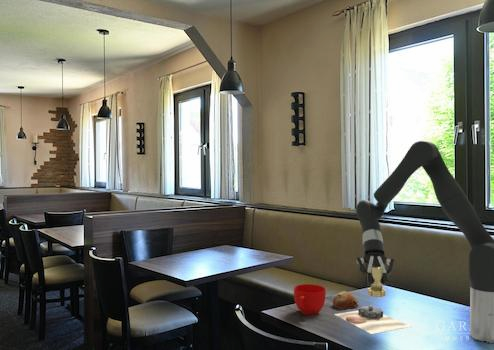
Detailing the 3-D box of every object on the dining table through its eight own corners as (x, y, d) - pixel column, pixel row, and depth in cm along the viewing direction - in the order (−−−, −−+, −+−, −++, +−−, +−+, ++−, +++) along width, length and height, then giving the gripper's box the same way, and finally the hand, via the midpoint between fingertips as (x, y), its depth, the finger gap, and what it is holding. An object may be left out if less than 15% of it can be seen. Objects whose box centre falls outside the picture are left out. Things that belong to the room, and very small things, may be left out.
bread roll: (344, 310, 192) (337, 292, 194) (364, 304, 186) (356, 286, 188) (333, 316, 185) (326, 297, 187) (353, 310, 179) (346, 291, 181)
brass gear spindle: (389, 296, 156) (389, 268, 156) (375, 298, 153) (375, 270, 153) (377, 291, 162) (377, 264, 161) (364, 293, 159) (364, 266, 159)
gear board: (410, 330, 158) (411, 317, 158) (371, 338, 151) (371, 324, 151) (370, 312, 179) (370, 300, 178) (334, 318, 171) (334, 305, 171)
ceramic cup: (284, 317, 171) (285, 292, 171) (300, 305, 186) (300, 282, 186) (316, 323, 165) (316, 297, 165) (329, 310, 180) (330, 286, 180)
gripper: (354, 237, 166) (358, 277, 154) (393, 238, 164) (400, 279, 152) (353, 249, 171) (356, 288, 159) (391, 250, 169) (397, 290, 157)
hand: (377, 283), depth 155 cm, fingers closed on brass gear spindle, 4 cm apart
